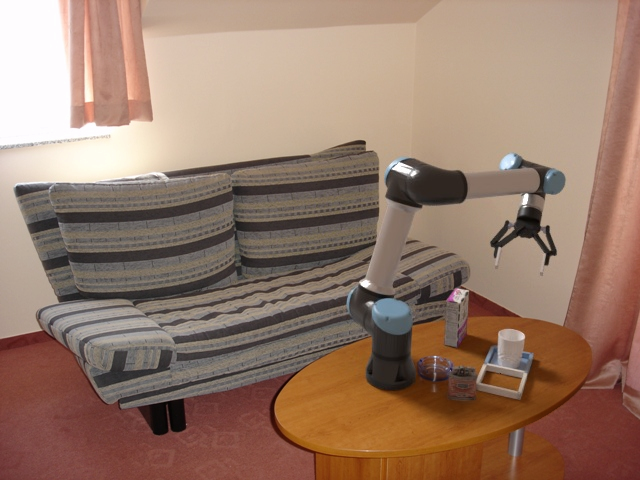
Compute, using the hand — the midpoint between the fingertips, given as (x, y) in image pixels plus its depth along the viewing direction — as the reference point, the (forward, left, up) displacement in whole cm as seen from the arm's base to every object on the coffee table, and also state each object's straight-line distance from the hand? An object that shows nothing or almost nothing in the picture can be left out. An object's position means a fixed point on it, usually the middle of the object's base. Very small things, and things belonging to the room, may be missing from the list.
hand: (518, 270), depth 200 cm
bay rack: (+1, -16, -28) cm, 32 cm away
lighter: (-8, -34, -28) cm, 44 cm away
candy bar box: (-18, -1, -28) cm, 33 cm away
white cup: (+1, -10, -28) cm, 29 cm away
